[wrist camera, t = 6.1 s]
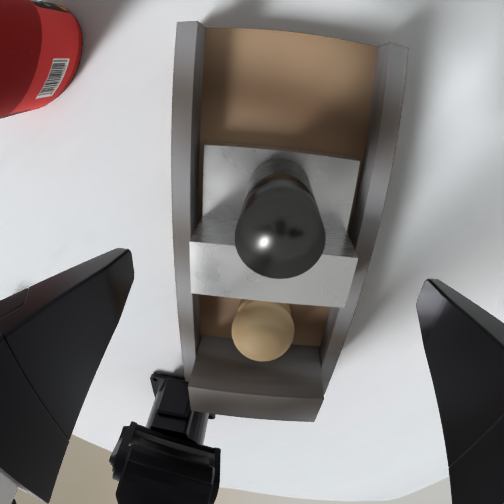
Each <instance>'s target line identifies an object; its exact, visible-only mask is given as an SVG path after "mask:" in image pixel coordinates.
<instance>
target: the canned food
mask: <svg viewBox="0 0 504 504" xmlns="http://www.w3.org/2000/svg"><path fill="white" fill-rule="evenodd" d="M81 52H82V33H81V28H80V25H79V23H78V21H77V19H76V18H75V17H74V15H73V14H72V13H71V12H70V11H69V10H68V9H66V8H64V7H63V6H61V5H56V4H52V3H47V2H42V1H37V0H0V119H1V118H4V117H8V116H11V115H15V114H19V113H23V112H27V111H31V110H35V109H38V108H41V107H43V106H46V105H47V104H48V103H50V102H51V101H53V100H54V99H56V98H57V97H58V96H59V95H60V94H61V93H62V92H63V91H64V90H65V89H66V88H67V86H68V85H69V84H70V82H71V80H72V78H73V77H74V75H75V73H76V70H77V67H78V65H79V61H80V57H81Z"/></svg>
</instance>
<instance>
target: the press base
mask: <svg viewBox="0 0 504 504" xmlns="http://www.w3.org/2000/svg"><path fill="white" fill-rule="evenodd" d="M407 58H408V48H407V47H403V46H400V45H396V44H392V43H387V44H384V45H382V46H379V47H376V46H371V45H367V44H362V43H358V42H353V41H348V40H343V39H337V38H331V37H325V36H319V35H312V34H304V33H296V32H287V31H276V30H263V29H244V28H206V27H204V26H203V25H202V24H201V23H199V22H198V21H188V22H177V29H176V42H175V56H174V73H173V95H172V132H171V186H172V224H173V247H174V266H175V281H176V295H177V308H178V319H179V330H180V340H181V350H182V359H183V368H184V376H185V381H187V382H189V385H188V391H189V399H190V406H191V411H198V412H204V413H211V414H219V415H227V416H235V417H245V418H255V419H267V420H282V421H304V422H314V421H315V419H316V416H317V414H318V412H319V409H320V407H321V405H322V402H323V400H324V394H325V392H326V389H327V387H328V384H329V381H330V379H331V376H332V374H333V371H334V369H335V366H336V363H337V361H338V358H339V355H340V352H341V350H342V347H343V344H344V341H345V338H346V336H347V333H348V330H349V327H350V324H351V321H352V318H353V315H354V312H355V309H356V306H357V302H358V299H359V296H360V293H361V290H362V286H363V283H364V280H365V276H366V273H367V269H368V266H369V262H370V259H371V255H372V251H373V248H374V244H375V240H376V236H377V232H378V228H379V224H380V220H381V216H382V212H383V207H384V203H385V198H386V194H387V189H388V185H389V180H390V175H391V170H392V165H393V159H394V154H395V148H396V143H397V137H398V131H399V124H400V118H401V111H402V103H403V96H404V88H405V79H406V69H407ZM207 142H221V143H237V144H250V145H262V146H273V147H283V148H292V149H300V150H309V151H317V152H324V153H331V154H338V155H345V156H351V157H356V158H357V159H358V160H359V161H360V165H359V171H358V177H357V182H356V188H355V193H354V198H353V204H352V209H351V214H350V219H349V223H348V228H347V233H348V235H349V237H350V240H351V242H352V244H353V247H354V249H355V251H356V254H357V256H358V261H357V265H356V269H355V273H354V276H353V280H352V284H351V287H350V291H349V294H348V298H347V301H346V304H345V308H340V307H327V306H314V305H301V304H290V303H289V305H290V310H291V317H292V320H293V323H294V338H293V341H292V343H291V345H290V347H289V348H288V350H287V351H286V352H285V353H284V354H283V355H281V356H280V357H278V358H276V359H274V360H271V361H255V360H252V359H249V358H247V357H246V356H244V355H243V354H242V353H241V352H240V351H239V350H238V349H237V347H236V346H235V344H234V341H233V338H232V323H233V320H234V318H235V316H236V314H237V312H238V306H239V303H240V301H241V300H242V299H238V298H229V297H220V296H211V295H202V294H194V293H191V280H190V246H189V241H190V239H191V238H192V236H193V234H194V232H195V230H196V228H197V226H198V224H199V222H200V221H201V219H202V217H203V166H204V145H205V144H206V143H207Z"/></svg>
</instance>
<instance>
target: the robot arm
mask: <svg viewBox="0 0 504 504" xmlns="http://www.w3.org/2000/svg"><path fill="white" fill-rule="evenodd" d="M133 280H134V268H133V261H132V254H131V251H130V250H129V249H123V248H116V249H114V250H112V251H109V252H107V253H104V254H102V255H100V256H97V257H95V258H93V259H91V260H88V261H86V262H84V263H81V264H79V265H77V266H75V267H72V268H70V269H68V270H66V271H63V272H61V273H59V274H57V275H55V276H52V277H50V278H48V279H46V280H44V281H41V282H39V283H37V284H35V285H33V286H31V287H29V289H28V288H26V289H24V290H22V291H20V292H18V293H16V294H14V295H11V296H9V297H7V298H5V299H3V300H0V504H16V501H15V499H14V496H15V494H16V491H17V489H18V488H19V489H21V490H23V491H25V492H26V493H28V494H30V495H32V496H34V497H36V498H38V499H40V500H42V501H43V502H46V503H49V501H50V498H51V495H52V491H53V488H54V485H55V482H56V479H57V475H58V472H59V469H60V466H61V463H62V460H63V457H64V455H65V452H66V449H67V446H68V443H69V439H70V437H71V434H72V432H73V429H74V426H75V424H76V421H77V418H78V416H79V413H80V410H81V408H82V405H83V403H84V400H85V398H86V395H87V393H88V390H89V388H90V386H91V383H92V381H93V378H94V376H95V374H96V371H97V369H98V367H99V364H100V362H101V360H102V358H103V355H104V353H105V351H106V349H107V346H108V344H109V342H110V340H111V337H112V335H113V333H114V331H115V329H116V327H117V324H118V322H119V320H120V317H121V314H122V312H123V309H124V306H125V303H126V300H127V297H128V294H129V291H130V289H131V286H132V283H133ZM416 307H417V312H418V318H419V323H420V328H421V334H422V340H423V345H424V349H425V353H426V357H427V361H428V365H429V369H430V373H431V377H432V381H433V385H434V390H435V394H436V399H437V403H438V408H439V413H440V418H441V423H442V429H443V434H444V440H445V446H446V453H447V460H448V467H449V476H450V485H451V495H452V504H504V323H503V322H501V321H500V320H498V319H497V318H496V317H494V316H493V315H491V314H490V313H488V312H487V311H485V310H484V309H482V308H481V307H479V306H478V305H477V304H475V303H474V302H472V301H471V300H469V299H468V298H466V297H465V296H463V295H462V294H460V293H458V292H457V291H455V290H454V289H452V288H451V287H449V286H448V285H446V284H445V283H443V282H441V281H440V280H438V279H427V280H426V281H425V282H424V284H423V287H422V289H421V292H420V294H419V297H418V299H417V304H416ZM150 380H151V384H152V388H153V391H154V395H155V401H154V404H153V407H152V410H151V413H150V416H149V419H148V422H147V425H146V427H144V426H141V425H138V424H137V423H136V422H133V421H132V422H131V424H130V426H124V427H123V430H122V432H121V435H120V438H119V440H118V442H117V444H116V446H115V448H114V450H113V452H112V454H111V456H110V459H109V462H110V463H111V465H112V467H113V470H112V471H113V479H114V480H117V481H119V484H118V487H117V491H116V498H117V502H118V504H214V502H215V499H216V497H217V493H218V489H219V483H220V453H221V449H219V448H212V447H208V446H204V445H203V442H204V437H205V432H206V427H207V422H208V419H214V418H215V414H211V413H204V412H198V411H191V406H190V399H189V391H188V385H189V382H187V381H185V379H182V378H176V377H171V376H165V375H159V374H152V375H151V377H150Z"/></svg>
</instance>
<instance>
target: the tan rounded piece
mask: <svg viewBox="0 0 504 504" xmlns="http://www.w3.org/2000/svg"><path fill="white" fill-rule="evenodd" d="M232 338H233V341H234V344H235V346H236V347H237V349H238V350H239V351H240V352H241V353H242V354H243V355H244V356H246V357H247V358H249V359H252V360H255V361H271V360H274V359H276V358H278V357H280V356H281V355H283V354H284V353H285V352H286V351H287V350H288V348H289V347H290V345H291V343H292V341H293V338H294V323H293V320H292V317H291V310H290V305H289V303H279V302H268V301H258V300H248V299H242V300H241V301H240V303H239V306H238V312H237V314H236V316H235V318H234V320H233V323H232Z"/></svg>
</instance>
